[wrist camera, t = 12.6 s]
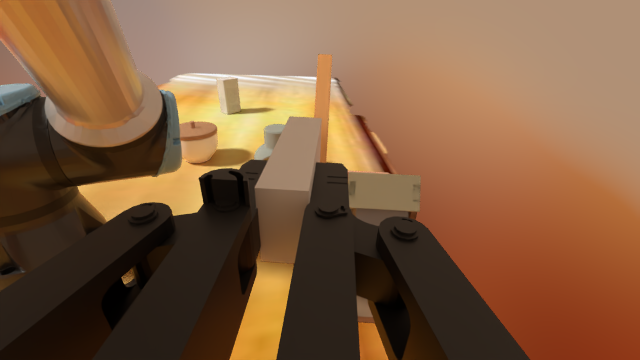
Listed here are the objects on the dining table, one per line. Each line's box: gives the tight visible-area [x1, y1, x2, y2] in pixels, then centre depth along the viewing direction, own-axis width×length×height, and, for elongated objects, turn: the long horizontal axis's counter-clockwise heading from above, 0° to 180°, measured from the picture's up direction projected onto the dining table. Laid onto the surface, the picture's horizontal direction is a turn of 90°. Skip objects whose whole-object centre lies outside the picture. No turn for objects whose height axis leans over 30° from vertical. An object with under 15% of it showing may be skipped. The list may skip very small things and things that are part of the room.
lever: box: [314, 54, 420, 226], centre depth 35 cm, size 20×10×18 cm
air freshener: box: [254, 124, 285, 160], centre depth 69 cm, size 11×8×10 cm
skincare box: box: [216, 77, 241, 114], centre depth 108 cm, size 6×4×12 cm
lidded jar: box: [179, 121, 218, 163], centre depth 72 cm, size 11×11×9 cm
